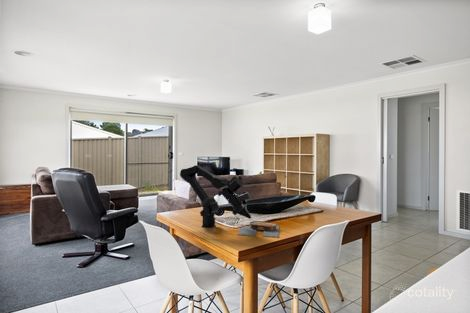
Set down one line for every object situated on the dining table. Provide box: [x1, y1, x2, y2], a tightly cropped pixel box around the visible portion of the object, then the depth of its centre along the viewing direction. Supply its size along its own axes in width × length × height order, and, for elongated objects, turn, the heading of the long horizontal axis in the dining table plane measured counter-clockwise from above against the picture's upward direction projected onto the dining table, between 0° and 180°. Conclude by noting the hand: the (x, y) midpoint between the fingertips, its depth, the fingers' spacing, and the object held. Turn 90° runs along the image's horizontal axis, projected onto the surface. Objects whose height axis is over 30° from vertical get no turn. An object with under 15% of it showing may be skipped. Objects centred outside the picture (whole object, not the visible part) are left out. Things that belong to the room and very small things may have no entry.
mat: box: [237, 225, 280, 238], centre depth 153 cm, size 21×20×1 cm
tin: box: [249, 220, 278, 231], centre depth 156 cm, size 15×3×8 cm
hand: (250, 218), depth 152 cm, fingers closed
